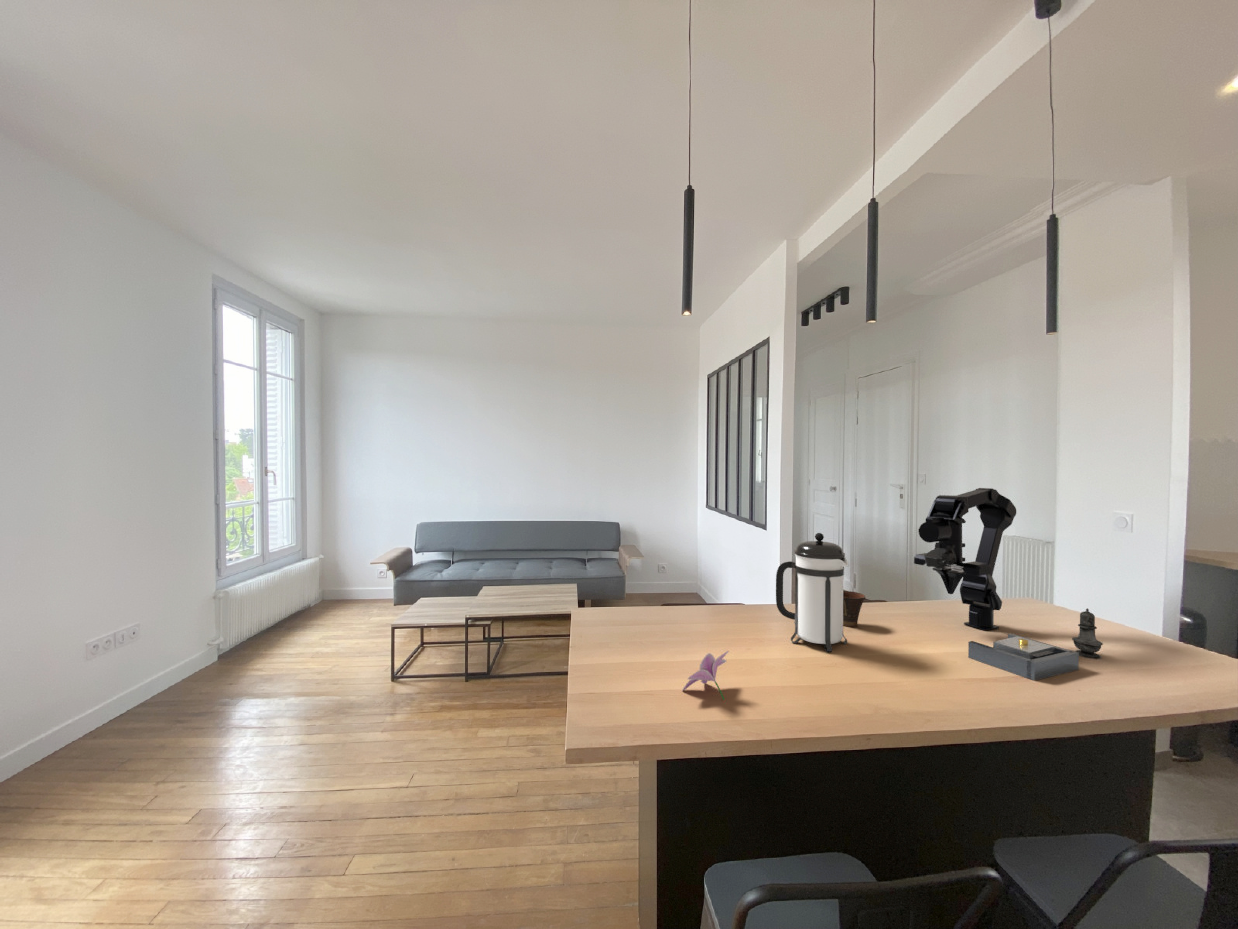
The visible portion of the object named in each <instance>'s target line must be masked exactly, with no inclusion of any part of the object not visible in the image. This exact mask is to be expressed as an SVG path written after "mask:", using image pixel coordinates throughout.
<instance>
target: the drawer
mask: <svg viewBox="0 0 1238 929" xmlns="http://www.w3.org/2000/svg"><path fill="white" fill-rule="evenodd" d="M1018 636H1019V635H1018ZM1018 636H1017V637H1012V638H1008V637H1007V638H1003V639H1000V640H995V641H993V642H992V643H993V644H992V645H993V646H992V647H993V648H996V649H999V650H1002V651H1006V652H1009V653H1012V654H1015V655H1018V656H1021V657H1024V658H1028V659H1031V660H1032V659H1036V658H1041V657H1045V656H1050V655H1054V646H1055V645H1053V646H1050V645H1051V644H1050V645H1047V644H1048V643H1046V644H1043V643H1044V642H1043V643H1040V642H1041V641H1039V642H1036V641H1037V640H1036V641H1032V640H1033V639H1032V640H1029V639H1030V638H1029V639H1025V638H1026V637H1025V638H1021V637H1018Z"/></svg>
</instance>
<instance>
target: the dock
mask: <svg viewBox="0 0 1238 929" xmlns="http://www.w3.org/2000/svg"><path fill="white" fill-rule="evenodd" d="M1017 636H1018V637H1021V638H1025V639H1029V640H1032V641H1036V642H1040V643H1043V644H1047V645H1050V646H1054V655H1050V656H1045V657H1041V658H1036V659H1032V660H1031V659H1028V658H1024V657H1021V656H1018V655H1015V654H1012V653H1009V652H1006V651H1002V650H999V649H996V648H993V646H989V645H986V644H983V643H980V642H977V641H974V640H971V641H968V645H967V646H968V648H967V649H968V650H967V651H968V659H972V660H975V661H977V662H981V663H982V664H986V665H989V666H991V667H994V668H996V669H997V668H998V669H999V670H1002V671H1006V672H1008V673H1012V674H1013V675H1014V674H1015V675H1017V676H1020V677H1022V678H1026V679H1029V680H1032V681H1035V682H1036V681H1040V680H1043V679H1047V678H1050V677H1054V676H1059V675H1063V674H1067V673H1071V672H1074V671H1077V670H1079V668H1080V666H1079V660H1080V659H1079V658H1080V656H1079V653H1078V652H1074V651H1075V650H1069V649H1066V648H1063V647H1060V646H1057V645H1053V644H1049V643H1046V642H1043V641H1039V640H1036V639H1031V638H1028V637H1026V636H1025V637H1024V636H1022V635H1017V634H1014V633H1008V634H1007V639H1008V638H1012V637H1017Z"/></svg>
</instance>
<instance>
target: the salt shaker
mask: <svg viewBox="0 0 1238 929" xmlns="http://www.w3.org/2000/svg"><path fill="white" fill-rule="evenodd" d="M1095 621H1096V615H1095V614H1094V613H1092V612H1090V609H1089V608H1086V609H1085V611H1081V612H1080V613H1079V623H1078V624H1077V626H1078V627H1079V632H1078V633H1079V634H1078V635H1077V636H1075V637H1072V638H1071V640H1072V641H1073V644H1074V646H1075V648H1077V650H1073V651H1074V652H1078V653H1079V657H1082V658H1087V659H1092V660H1093V659H1094V660H1100V659H1102V656H1101V655H1099V654H1098V653H1097V652H1099V651H1100V650H1101V649H1102V646H1103V645H1104V643H1103V642H1102V641H1099V640H1098V639H1097V637H1096V629H1098V628H1097V627H1096V624H1095V623H1096V622H1095Z"/></svg>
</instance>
